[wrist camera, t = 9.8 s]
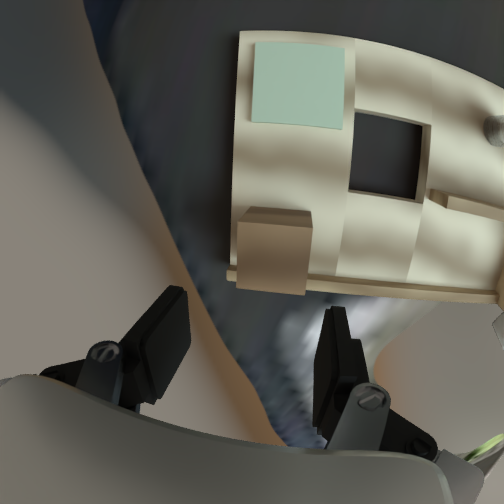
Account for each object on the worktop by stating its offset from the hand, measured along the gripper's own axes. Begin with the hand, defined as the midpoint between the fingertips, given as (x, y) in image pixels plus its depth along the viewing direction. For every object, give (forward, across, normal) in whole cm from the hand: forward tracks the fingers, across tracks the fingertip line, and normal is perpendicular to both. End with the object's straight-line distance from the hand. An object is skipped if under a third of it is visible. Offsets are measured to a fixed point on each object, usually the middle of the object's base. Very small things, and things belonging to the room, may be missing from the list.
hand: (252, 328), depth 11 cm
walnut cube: (+14, 0, 0) cm, 14 cm away
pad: (+14, -1, -12) cm, 18 cm away
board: (+16, -11, -6) cm, 20 cm away
